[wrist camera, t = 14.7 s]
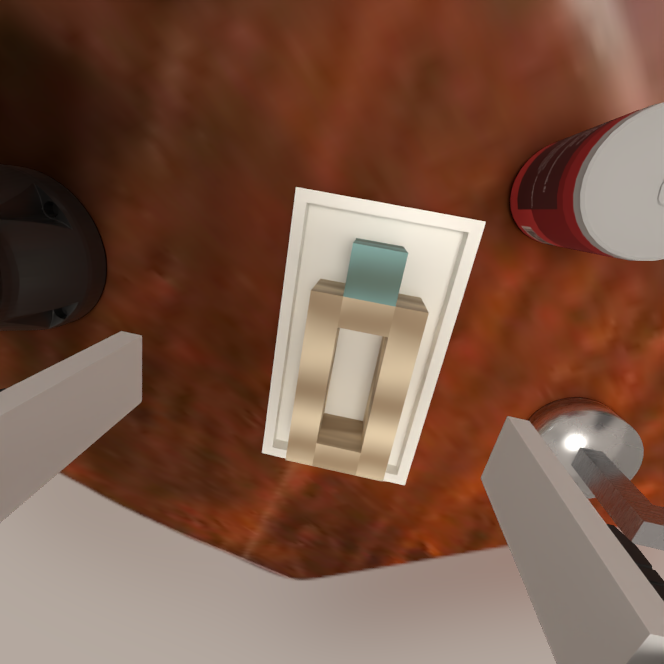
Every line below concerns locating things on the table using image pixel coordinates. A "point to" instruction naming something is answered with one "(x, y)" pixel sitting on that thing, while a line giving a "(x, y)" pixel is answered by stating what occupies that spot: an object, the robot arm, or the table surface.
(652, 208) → the canned food
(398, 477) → the tray
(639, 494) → the grey piece
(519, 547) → the robot arm
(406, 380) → the beige hollow block
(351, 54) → the table surface
